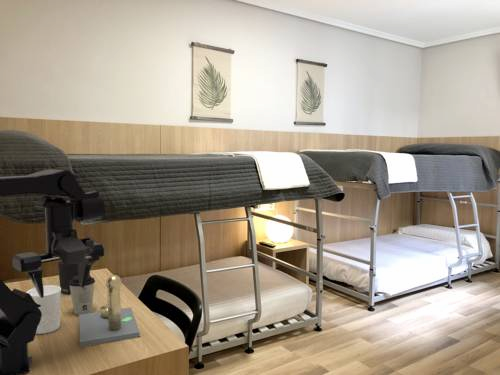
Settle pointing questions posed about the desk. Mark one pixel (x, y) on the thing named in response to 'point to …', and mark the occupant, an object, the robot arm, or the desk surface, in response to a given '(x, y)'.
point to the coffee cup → (82, 295)
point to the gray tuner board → (106, 328)
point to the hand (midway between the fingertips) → (62, 292)
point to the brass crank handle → (113, 303)
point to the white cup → (48, 308)
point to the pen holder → (67, 275)
